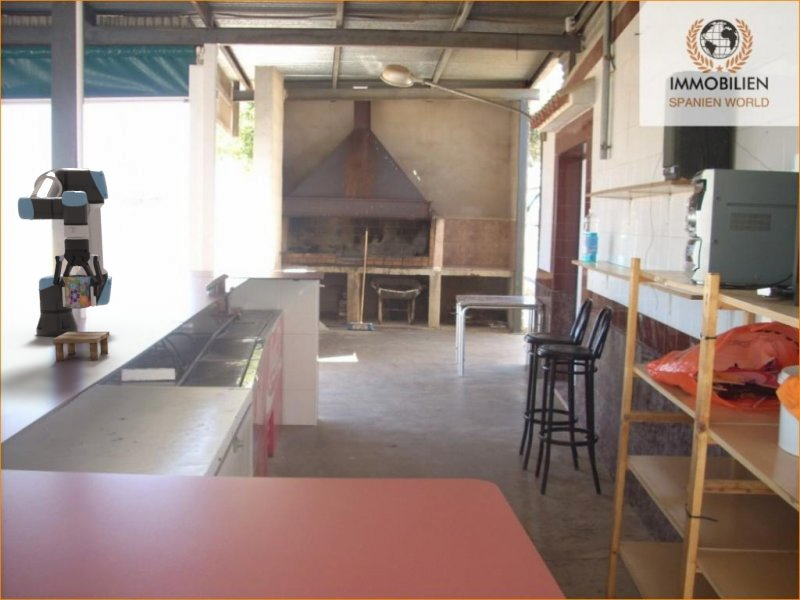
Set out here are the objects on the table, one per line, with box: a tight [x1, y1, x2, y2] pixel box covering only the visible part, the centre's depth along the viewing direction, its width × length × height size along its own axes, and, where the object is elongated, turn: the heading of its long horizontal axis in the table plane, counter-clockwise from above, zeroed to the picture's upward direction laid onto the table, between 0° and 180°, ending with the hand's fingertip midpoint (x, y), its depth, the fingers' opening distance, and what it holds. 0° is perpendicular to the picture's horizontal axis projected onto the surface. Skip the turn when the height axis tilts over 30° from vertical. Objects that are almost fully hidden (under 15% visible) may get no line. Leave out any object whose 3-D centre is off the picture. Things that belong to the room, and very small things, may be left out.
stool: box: [52, 331, 110, 362], centre depth 257 cm, size 14×14×7 cm
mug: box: [62, 274, 92, 310], centre depth 255 cm, size 12×9×11 cm
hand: (79, 305), depth 256 cm, fingers closed on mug, 8 cm apart
